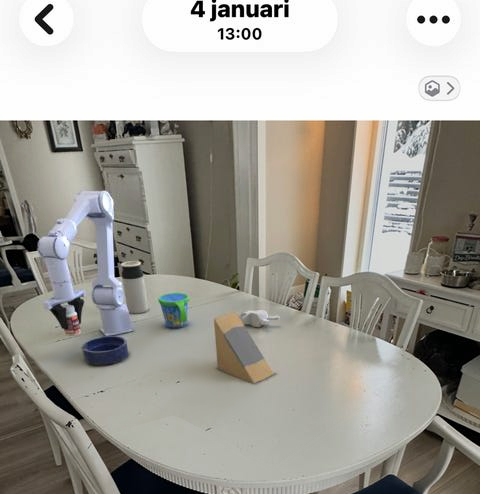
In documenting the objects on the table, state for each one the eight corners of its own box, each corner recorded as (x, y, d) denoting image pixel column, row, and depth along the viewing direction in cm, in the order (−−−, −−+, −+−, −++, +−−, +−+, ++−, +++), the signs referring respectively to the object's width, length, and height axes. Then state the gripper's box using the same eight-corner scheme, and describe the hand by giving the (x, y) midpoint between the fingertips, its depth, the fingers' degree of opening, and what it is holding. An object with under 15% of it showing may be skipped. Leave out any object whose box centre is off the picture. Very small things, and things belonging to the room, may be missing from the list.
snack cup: (197, 329, 164) (194, 300, 159) (168, 334, 161) (164, 305, 155) (184, 316, 176) (181, 289, 171) (157, 321, 173) (153, 293, 168)
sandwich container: (254, 384, 126) (252, 330, 118) (216, 368, 136) (213, 318, 128) (275, 373, 131) (275, 321, 123) (237, 359, 141) (235, 310, 133)
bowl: (121, 346, 153) (118, 333, 151) (134, 359, 143) (132, 345, 141) (80, 355, 148) (77, 341, 146) (91, 370, 138) (87, 355, 136)
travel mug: (152, 309, 186) (145, 262, 176) (138, 315, 180) (131, 266, 170) (137, 306, 189) (130, 260, 180) (123, 312, 184) (115, 264, 174)
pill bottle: (78, 336, 143) (72, 308, 138) (63, 336, 143) (56, 309, 138) (83, 330, 147) (77, 304, 142) (68, 331, 147) (61, 304, 142)
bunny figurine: (251, 306, 171) (282, 309, 161) (252, 320, 173) (283, 324, 163) (232, 313, 165) (263, 316, 155) (234, 327, 168) (265, 331, 158)
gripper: (70, 273, 143) (80, 317, 151) (31, 285, 133) (43, 331, 140) (86, 275, 140) (96, 320, 147) (47, 288, 130) (60, 335, 137)
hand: (71, 325), depth 144 cm, fingers closed on pill bottle, 5 cm apart
